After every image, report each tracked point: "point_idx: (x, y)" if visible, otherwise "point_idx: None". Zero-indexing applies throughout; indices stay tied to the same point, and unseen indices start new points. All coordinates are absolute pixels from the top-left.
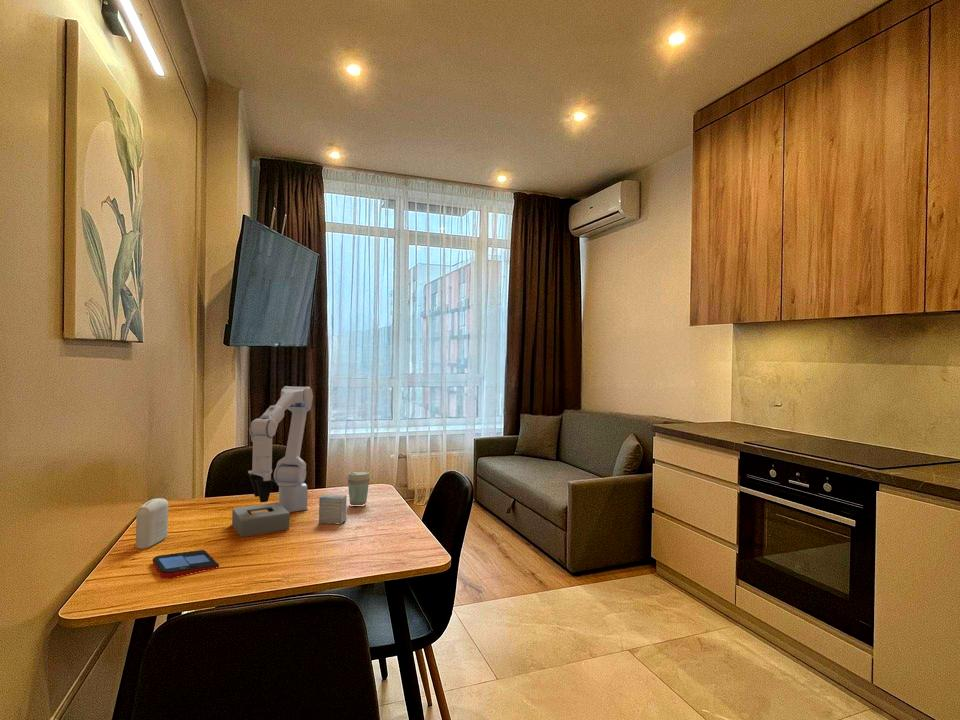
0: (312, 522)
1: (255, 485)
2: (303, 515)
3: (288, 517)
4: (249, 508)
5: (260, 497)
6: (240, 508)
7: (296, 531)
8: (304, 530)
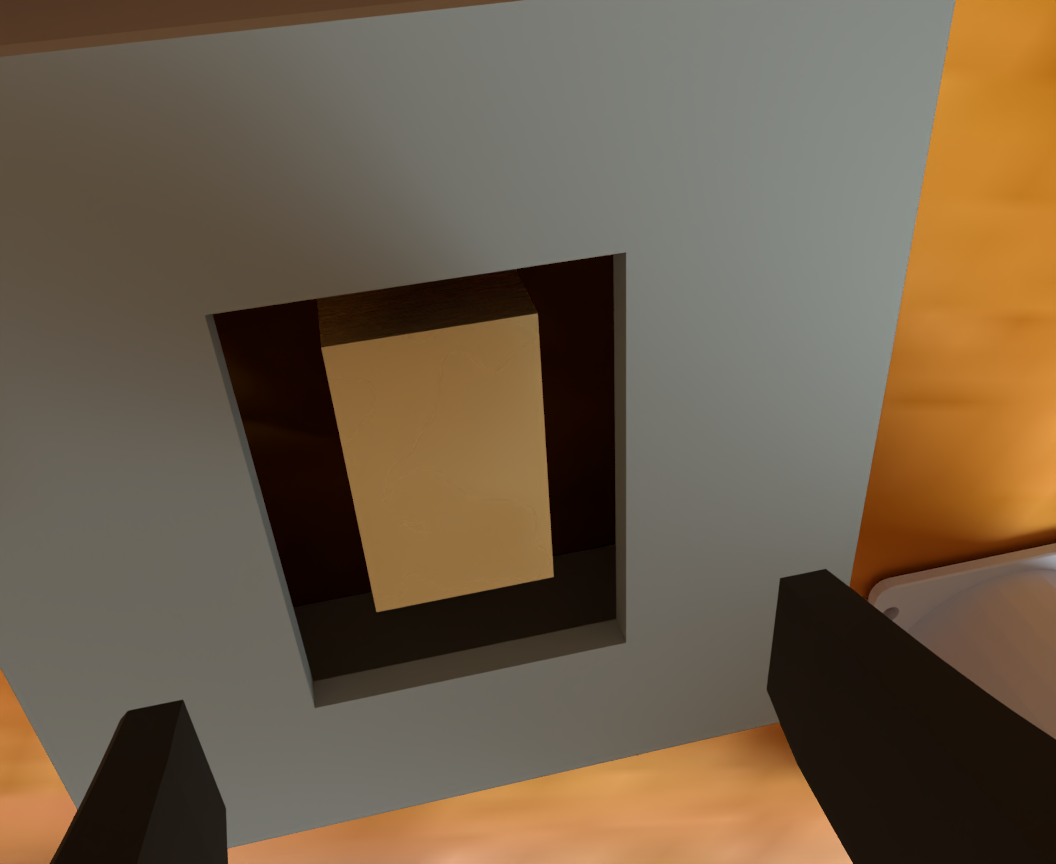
0: (345, 842)
1: (977, 842)
2: (659, 765)
3: None
4: (725, 318)
5: (71, 837)
6: (842, 139)
7: (17, 731)
8: (37, 796)
